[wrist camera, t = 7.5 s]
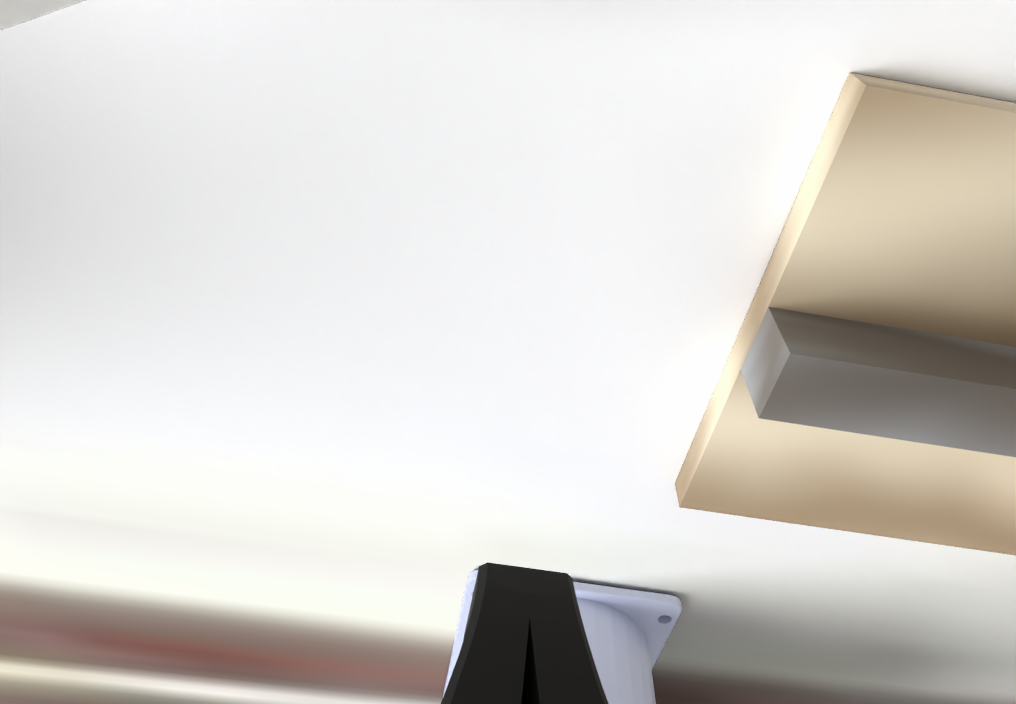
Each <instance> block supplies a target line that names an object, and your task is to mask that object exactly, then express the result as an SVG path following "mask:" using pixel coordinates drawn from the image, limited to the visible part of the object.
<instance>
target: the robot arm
mask: <svg viewBox="0 0 1016 704" xmlns="http://www.w3.org/2000/svg"><path fill="white" fill-rule="evenodd" d="M681 612H682V606H681V601H680V599H679V598H677V597H676V596H673V595H668V594H660V593H653V592H645V591H638V590H631V589H623V588H616V587H609V586H601V585H594V584H586V583H579V582H573V579H572V578H571V577H570V576H569V575H568V574H567V573H560V572H552V571H545V570H538V569H530V568H523V567H516V566H508V565H501V564H494V563H486V564H483V565H481V566H479V569H478V570H474V571H472V572H470V573H469V575H468V577H467V582H466V587H465V592H464V596H463V601H462V606H461V611H460V616H459V621H458V626H457V631H456V636H455V640H454V645H453V650H452V655H451V660H450V665H449V670H448V675H447V679H446V684H445V689H444V694H443V699H442V702H441V704H656V701H655V693H654V685H653V677H652V669H653V667H654V665H655V663H656V661H657V659H658V657H659V655H660V653H661V651H662V650H663V648H664V646H665V644H666V642H667V640H668V638H669V636H670V634H671V632H672V630H673V628H674V626H675V624H676V622H677V620H678V618H679V616H680V614H681Z"/></svg>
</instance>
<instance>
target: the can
mask: <svg viewBox="0 0 1016 704" xmlns="http://www.w3.org/2000/svg"><path fill="white" fill-rule="evenodd" d="M82 1H85V0H0V30H3V29H6V28H9V27H12V26H15V25H18V24H20V23H23V22H26V21H29V20H32V19H34V18H37V17H40V16H43V15H46V14H49V13H51V12H54V11H57V10H60V9H63V8H65V7H68V6H71V5H74V4H77V3H80V2H82Z"/></svg>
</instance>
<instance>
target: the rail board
mask: <svg viewBox="0 0 1016 704" xmlns="http://www.w3.org/2000/svg"><path fill="white" fill-rule="evenodd" d="M675 487H676V492H677V497H678V502H679V507H682V508H689V509H696V510H703V511H710V512H717V513H724V514H731V515H738V516H745V517H752V518H759V519H766V520H773V521H780V522H787V523H794V524H801V525H808V526H815V527H822V528H829V529H836V530H843V531H850V532H857V533H864V534H871V535H878V536H884V537H891V538H898V539H905V540H912V541H919V542H926V543H933V544H940V545H947V546H954V547H961V548H968V549H975V550H982V551H989V552H996V553H1003V554H1010V555H1016V103H1013V102H1008V101H1002V100H997V99H991V98H986V97H980V96H975V95H969V94H964V93H959V92H953V91H948V90H942V89H937V88H931V87H926V86H920V85H915V84H910V83H904V82H899V81H893V80H888V79H882V78H877V77H871V76H866V75H860V74H855V73H849V75H848V77H847V80H846V82H845V85H844V87H843V89H842V92H841V94H840V96H839V99H838V101H837V103H836V106H835V108H834V110H833V113H832V115H831V117H830V120H829V122H828V125H827V127H826V129H825V132H824V134H823V136H822V139H821V141H820V143H819V146H818V148H817V150H816V153H815V155H814V157H813V160H812V162H811V165H810V167H809V169H808V172H807V174H806V176H805V179H804V181H803V183H802V186H801V188H800V190H799V193H798V195H797V197H796V200H795V202H794V205H793V207H792V209H791V212H790V214H789V216H788V219H787V221H786V223H785V226H784V228H783V230H782V233H781V235H780V237H779V240H778V242H777V245H776V247H775V249H774V252H773V254H772V256H771V259H770V261H769V263H768V266H767V268H766V270H765V273H764V275H763V277H762V280H761V282H760V285H759V287H758V289H757V292H756V294H755V296H754V299H753V301H752V303H751V306H750V308H749V310H748V313H747V315H746V317H745V320H744V322H743V325H742V327H741V329H740V332H739V334H738V336H737V339H736V341H735V343H734V346H733V348H732V350H731V353H730V355H729V357H728V360H727V362H726V365H725V367H724V369H723V372H722V374H721V376H720V379H719V381H718V383H717V386H716V388H715V390H714V393H713V395H712V397H711V400H710V402H709V405H708V407H707V409H706V412H705V414H704V416H703V419H702V421H701V423H700V426H699V428H698V430H697V433H696V435H695V437H694V440H693V442H692V445H691V447H690V449H689V452H688V454H687V456H686V459H685V461H684V463H683V466H682V468H681V470H680V473H679V475H678V477H677V480H676V482H675Z"/></svg>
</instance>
